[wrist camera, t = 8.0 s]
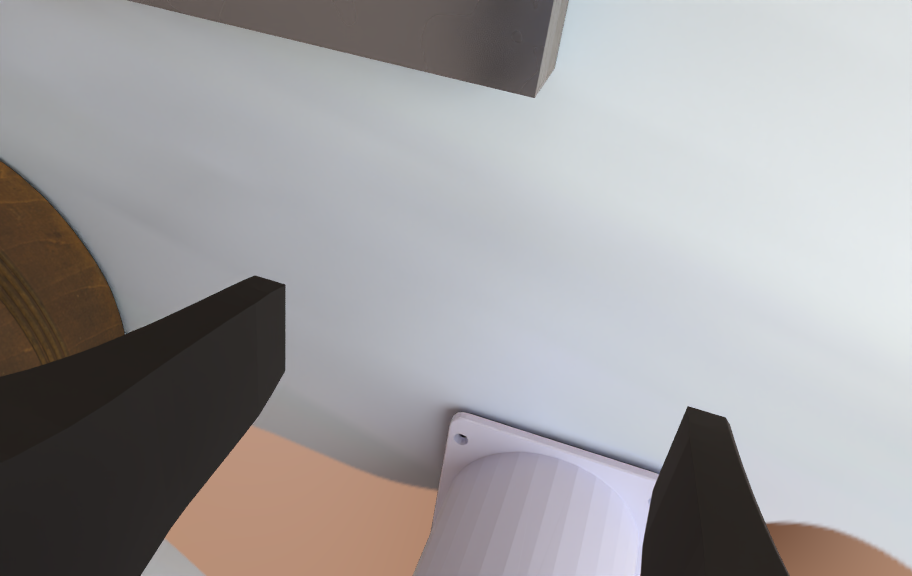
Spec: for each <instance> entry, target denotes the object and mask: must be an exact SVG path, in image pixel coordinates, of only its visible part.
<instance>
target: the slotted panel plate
mask: <svg viewBox="0 0 912 576" xmlns="http://www.w3.org/2000/svg"><path fill="white" fill-rule="evenodd" d="M129 1H133V2H137V3H141V4H145V5H149V6H154V7H158V8H162V9H166V10H170V11H174V12H179V13H183V14H187V15H191V16H195V17H199V18H204V19H208V20H212V21H216V22H220V23H224V24H229V25H233V26H237V27H241V28H245V29H249V30H254V31H258V32H262V33H266V34H270V35H274V36H279V37H283V38H287V39H291V40H295V41H299V42H304V43H308V44H312V45H316V46H320V47H324V48H328V49H333V50H337V51H341V52H345V53H349V54H353V55H358V56H362V57H366V58H370V59H374V60H378V61H383V62H387V63H391V64H395V65H399V66H403V67H408V68H412V69H416V70H420V71H424V72H428V73H433V74H437V75H441V76H445V77H449V78H453V79H458V80H462V81H466V82H470V83H474V84H478V85H483V86H487V87H491V88H495V89H499V90H503V91H507V92H512V93H516V94H520V95H524V96H528V97H532V98H535V97H536V95H537V94H538V92H539V91H540V89H541V88H542V86H543V85H544V83H545V82H546V80H547V79H548V77H549V76H550V74H551V73H552V72H553V70H554V69H555V64H556V59H557V54H558V50H559V45H560V40H561V35H562V30H563V26H564V21H565V16H566V11H567V6H568V2H569V0H129Z"/></svg>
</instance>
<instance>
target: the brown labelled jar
mask: <svg viewBox="0 0 912 576" xmlns="http://www.w3.org/2000/svg"><path fill="white" fill-rule="evenodd" d="M123 335H125V334H124V329H123V325H122V321H121V318H120V315H119V312H118V309H117V306H116V303H115V300H114V297H113V295H112V292H111V290H110V288H109V285H108V283H107V281H106V279H105V278H104V276H103V274H102V272H101V270H100V269H99V267H98V265H97V264H96V262H95V261H94V259H93V258H92V256H91V255H90V253H89V252H88V250H87V249H86V247H85V246H84V244H83V243H82V242H81V240H80V239H79V238H78V236H77V235H76V234H75V232H74V231H73V230H72V229H71V227H70V226H69V225H68V224H67V222H66V221H65V220H64V219H63V218H62V217H61V215H60V214H59V213H58V212H57V211H56V210H55V209H54V208H53V207H52V206H51V205H50V204H49V202H48V201H47V200H46V199H45V198H44V197H43V196H42V195H41V194H40V193H39V192H38V191H36V190H35V189H34V188H33V187H32V186H31V185H30V184H29V183H28V182H26V181H25V180H24V179H23V178H22V177H21V176H20V175H18V174H17V173H16V172H15V171H13V170H12V169H11V168H9V167H8V166H7V165H5V164H4V163H3V162H1V161H0V377H1V376H5V375H9V374H13V373H16V372H20V371H24V370H27V369H31V368H34V367H37V366H41V365H44V364H47V363H50V362H53V361H56V360H59V359H62V358H65V357H68V356H71V355H74V354H77V353H80V352H82V351H85V350H88V349H91V348H93V347H96V346H99V345H101V344H103V343H106V342H108V341H111V340H113V339H115V338H118V337H120V336H123Z"/></svg>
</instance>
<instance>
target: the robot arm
mask: <svg viewBox="0 0 912 576" xmlns="http://www.w3.org/2000/svg"><path fill="white" fill-rule="evenodd" d="M284 372H285V284H281V283H278V282H275V281H272V280H268V279H265V278H262V277H258V276H252V277H250V278H248V279H245V280H243V281H241V282H239V283H237V284H234V285H232V286H230V287H228V288H226V289H224V290H222V291H220V292H218V293H215V294H213V295H211V296H209V297H207V298H205V299H203V300H201V301H199V302H197V303H195V304H193V305H190V306H188V307H186V308H184V309H182V310H180V311H177V312H175V313H173V314H171V315H169V316H167V317H165V318H162V319H160V320H158V321H156V322H154V323H151V324H149V325H147V326H144V327H142V328H139V329H137V330H135V331H132V332H130V333H127V334H125V335H123V336H120V337H118V338H115V339H113V340H111V341H108V342H106V343H103V344H101V345H99V346H96V347H93V348H91V349H88V350H85V351H82V352H80V353H77V354H74V355H71V356H68V357H65V358H62V359H59V360H56V361H53V362H50V363H47V364H44V365H41V366H37V367H34V368H31V369H27V370H24V371H20V372H16V373H13V374H9V375H5V376H1V377H0V576H141V574H142V572H143V571H144V569H145V568H146V566H147V565H148V563H149V561H150V560H151V558H152V557H153V555H154V554H155V552H156V551H157V549H158V547H159V546H160V544H161V543H162V541H163V540H164V538H165V536H166V535H167V533H168V532H169V530H170V529H171V527H172V526H173V525H174V523H175V522H176V521H177V519H178V518H179V516H180V515H181V514H182V512H183V511H184V510H185V508H186V507H187V506H188V504H189V503H190V502H191V501H192V499H193V498H194V497H195V496H196V494H197V493H198V492H199V490H200V489H201V488H202V487H203V486H204V484H205V483H206V482H207V481H208V479H209V478H210V477H211V476H212V474H213V473H214V472H215V471H216V469H217V468H218V467H219V466H220V464H221V463H222V462H223V461H224V459H225V458H226V457H227V456H228V454H229V453H230V452H231V451H232V449H233V448H234V447H235V445H236V444H237V443H238V442H239V440H240V439H241V438H242V437H243V435H244V434H245V433H246V432H247V430H248V429H249V428H250V426H251V425H252V424H253V422H254V421H255V420H256V419H257V417H258V416H259V414H260V413H261V411H262V409H263V408H264V406H265V405H266V403H267V401H268V400H269V398H270V396H271V395H272V393H273V391H274V389H275V388H276V386H277V384H278V382H279V381H280V379H281V377H282V375H283V374H284ZM459 434H462V435H464V436H466V437H462V436H460V435H459ZM413 576H789V574H788V571H787V569H786V567H785V565H784V563H783V561H782V559H781V557H780V556H779V553H778V551H777V548H776V546H775V544H774V542H773V540H772V537H771V535H770V533H769V530H768V528H767V526H766V523H765V521H764V519H763V516H762V514H761V511H760V509H759V507H758V504H757V502H756V499H755V497H754V494H753V492H752V489H751V486H750V484H749V481H748V478H747V475H746V473H745V470H744V467H743V464H742V461H741V458H740V456H739V453H738V449H737V446H736V443H735V440H734V437H733V434H732V430H731V427H730V424H729V423H728V421H727V419H726V418H725V417H722V416H719V415H715V414H712V413H709V412H705V411H702V410H699V409H695V408H692V407H689V406H688V407H687V409H686V412H685V414H684V416H683V419H682V421H681V424H680V426H679V428H678V431H677V433H676V436H675V438H674V440H673V443H672V445H671V447H670V450H669V452H668V455H667V457H666V459H665V462H664V464H663V467H662V469H661V471H660V474H657V473H654V472H651V471H648V470H645V469H641V468H638V467H635V466H632V465H629V464H626V463H623V462H619V461H616V460H613V459H610V458H607V457H604V456H601V455H598V454H594V453H591V452H588V451H585V450H582V449H579V448H576V447H573V446H569V445H566V444H563V443H560V442H557V441H554V440H551V439H548V438H544V437H541V436H538V435H535V434H532V433H529V432H526V431H522V430H519V429H516V428H513V427H510V426H507V425H504V424H501V423H497V422H494V421H491V420H488V419H485V418H482V417H479V416H476V415H472V414H469V413H465V412H459V413H456V414H455V415H454V416H453V418H452V420H451V422H450V425H449V431H448V437H447V442H446V448H445V454H444V459H443V465H442V471H441V476H440V482H439V488H438V493H437V499H436V505H435V511H434V517H433V522H432V528H431V533H430V536H429V538H428V540H427V543H426V545H425V547H424V550H423V552H422V555H421V557H420V559H419V562H418V564H417V567H416V569H415V571H414V574H413Z"/></svg>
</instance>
